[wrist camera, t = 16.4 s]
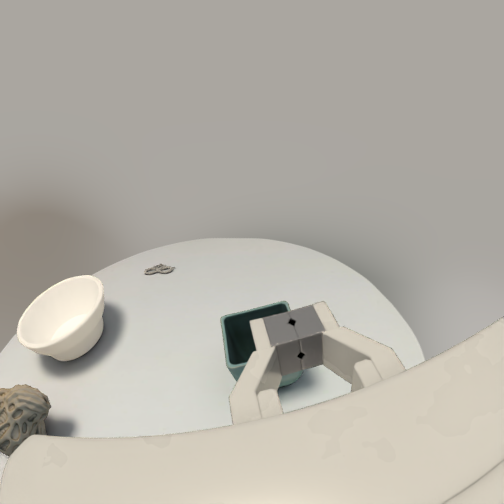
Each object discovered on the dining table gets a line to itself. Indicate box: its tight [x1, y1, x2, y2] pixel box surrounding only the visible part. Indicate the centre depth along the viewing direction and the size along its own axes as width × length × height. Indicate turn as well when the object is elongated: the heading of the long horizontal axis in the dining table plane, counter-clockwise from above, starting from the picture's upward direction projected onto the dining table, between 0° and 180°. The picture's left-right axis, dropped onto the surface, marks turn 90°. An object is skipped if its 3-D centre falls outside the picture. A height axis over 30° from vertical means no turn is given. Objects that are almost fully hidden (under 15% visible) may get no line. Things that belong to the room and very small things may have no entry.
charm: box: [144, 264, 175, 274], centre depth 67 cm, size 8×1×4 cm
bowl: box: [17, 275, 104, 361], centre depth 48 cm, size 21×21×8 cm
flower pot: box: [220, 301, 303, 387], centre depth 36 cm, size 9×9×9 cm
